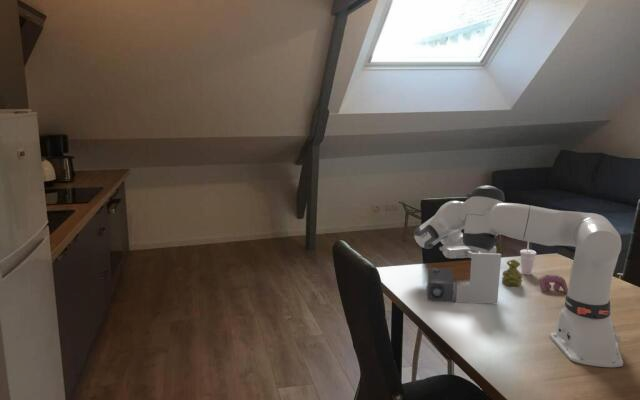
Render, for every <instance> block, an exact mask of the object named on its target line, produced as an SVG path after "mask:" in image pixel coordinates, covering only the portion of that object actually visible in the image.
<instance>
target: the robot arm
mask: <svg viewBox="0 0 640 400" xmlns="http://www.w3.org/2000/svg"><path fill="white" fill-rule="evenodd" d="M465 198H466V200H465V201H462V200H461V201H460V200H450V201H447V202H445V203H444V204H442V205H441V206H440V207H439V209H438V210H437V211H436V213H435V214H434V215H433V216H431V218H429V219H427V220H426V221H425V222H423V223H422V224H421V225H419V226H417V227H416V228H415V229H414V231H413V238H414V239H415V241H416V243H417V244H418V246H420V247H421V248H423V249H426V250H427V249H428V250H430V249H432V248H433V247H435V245H437V244H438V243H439V242H440V243H441V244H442V245H441V246H439V247H438V248H439V251H441V252H442V254H443V256H444V257H445V258H447V259H464V258H466V259H467V258H469V259H471V258H472V253H492V254H497V246H496V244H497V243H500V242H501V241H500V239H497V236H499V235H502V236H503V237H504V236H505V237H508V238H511V239H516V240H519V241H523V242H526V243H528V242H529V243H533V244H537V245H538V244H539V245H543V246H548V247H553V246H564V247H574V248H575V252H574V256H573V261H572V264H571V268H570V270H569V271H570V272H569V281H568V286H567V288H568V292H567V293H565V294H566V295H565V298H564V307H563V308H562V309H561V310H560V311H559V312H558V316H557V320H556V327H555V331H552V332H551V333H549V338H550V339H551V341H553V343H554V344H555V345H556V346H557V347H558V349H560V350H561V351H562V353H564V355H565V356H566V357H567V358H568V359H569V360H570V361H572V362H575V363H578V364H581V365H586V366H592V367H600V368H601V367H602V368H619V367H624V361H623V358H622V354H621V351H620V348H619V344H618V343H620V342H621V334H618V333H615V332H614V330H616V324H613V321H612V316H611V301H610V295H611V289H612V287H611V286H612V280H613V276H614V272H615V269H616V267H617V262H618V259H619V255H620V253H621V251H622V239H621V234H620V233H619V232H618V231H617V229H616V228H615V227H614V226H613V224H612V223H611V221H609V220H608V218H606V217H605V216H604V215H602V214H598V213H593V212H582V211H573V210H571V211H570V210H558V209H552V208H546V207H540V206H535V205H529V204H525V203H524V204H522V203H513V202H505V199H506V198H505V193H504V191H503V190H501V189H500V188H497V186H496V187H495V186H492V185H480V186H477V187H476V188H474V189H472V190H471V192H470V193H468V194H466V195H465ZM462 230H463V232H462Z"/></svg>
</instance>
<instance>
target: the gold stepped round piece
mask: <svg viewBox="0 0 640 400" xmlns="http://www.w3.org/2000/svg"><path fill="white" fill-rule="evenodd" d="M506 264H507V266H508V269H506V270H504V271H503V272H502V277H501V279H502V280H501V283H502V284H503V285H504V286H506V287H510V288H518V287H519V288H520V287H521V286H522V282H523V280H522V279H523V274H522V272H520V270H518V267H519V266H521V262H519V261H517V260H516V259H511V260H508V261H506Z"/></svg>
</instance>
